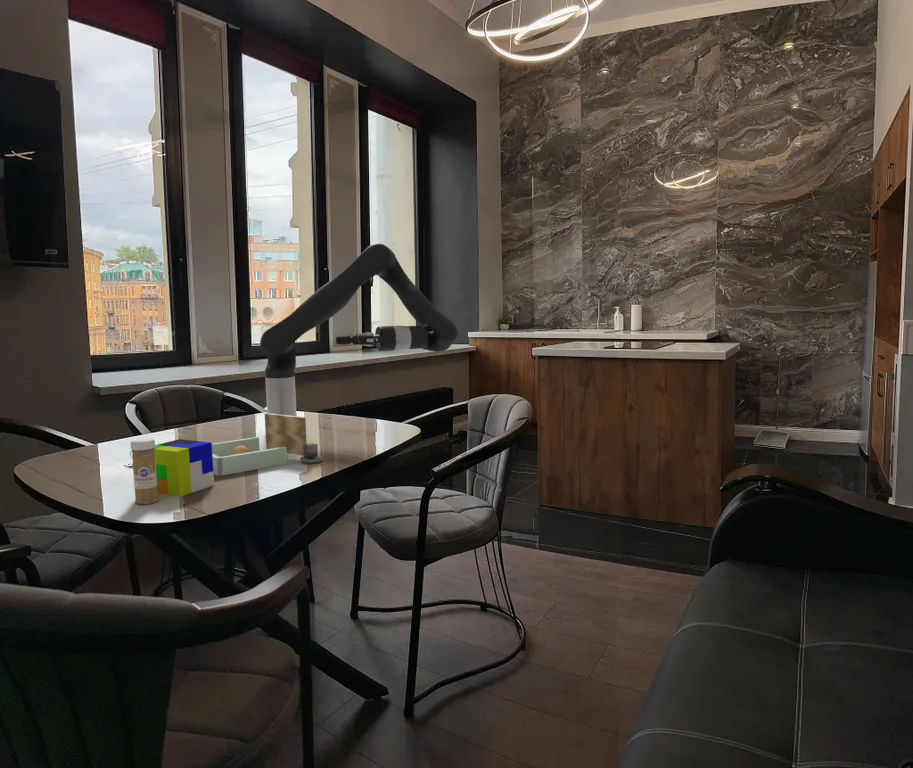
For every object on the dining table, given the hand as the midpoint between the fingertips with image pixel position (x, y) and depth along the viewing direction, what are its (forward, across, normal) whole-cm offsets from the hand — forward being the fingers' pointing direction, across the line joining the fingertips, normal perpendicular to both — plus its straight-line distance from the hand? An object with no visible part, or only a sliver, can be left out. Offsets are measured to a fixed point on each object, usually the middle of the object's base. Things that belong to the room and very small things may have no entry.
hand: (336, 340), depth 193 cm
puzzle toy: (+45, +30, +30) cm, 62 cm away
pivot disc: (+13, +19, +30) cm, 38 cm away
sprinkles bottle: (+52, +38, +30) cm, 71 cm away
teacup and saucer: (+53, +2, +31) cm, 61 cm away
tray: (+30, +12, +30) cm, 44 cm away
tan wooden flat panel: (+17, +13, +29) cm, 36 cm away
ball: (+29, +9, +28) cm, 41 cm away
